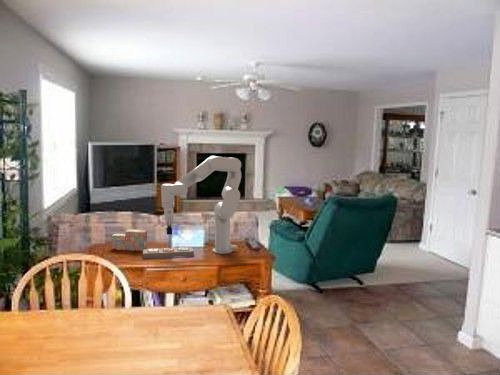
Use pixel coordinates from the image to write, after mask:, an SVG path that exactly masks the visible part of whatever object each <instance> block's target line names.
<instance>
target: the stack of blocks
mask: <svg viewBox="0 0 500 375" xmlns="http://www.w3.org/2000/svg"><path fill="white" fill-rule="evenodd" d="M146 248H147V249H148V230H147V229H145V230H144V229H126V230H125V233H114V234H112V235H111V250H114V249H116V250H115V251H117V250H119V251H135V250H136V251H139V252H143V249H146Z"/></svg>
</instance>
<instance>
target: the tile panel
mask: <svg viewBox="0 0 500 375" xmlns="http://www.w3.org/2000/svg"><path fill="white" fill-rule="evenodd" d="M172 248H173V251H172V252H163V248H157V249H158V252H149V253H148V249H149V248H147V249H143V251H142V259H162V258H161V257H164V258H176V257H175V256H186V257H194V256H195V255H194V254H195V251H194V249H193V247H192V246H191V247H187V248H188V251H178V248H179V247H172Z"/></svg>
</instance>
